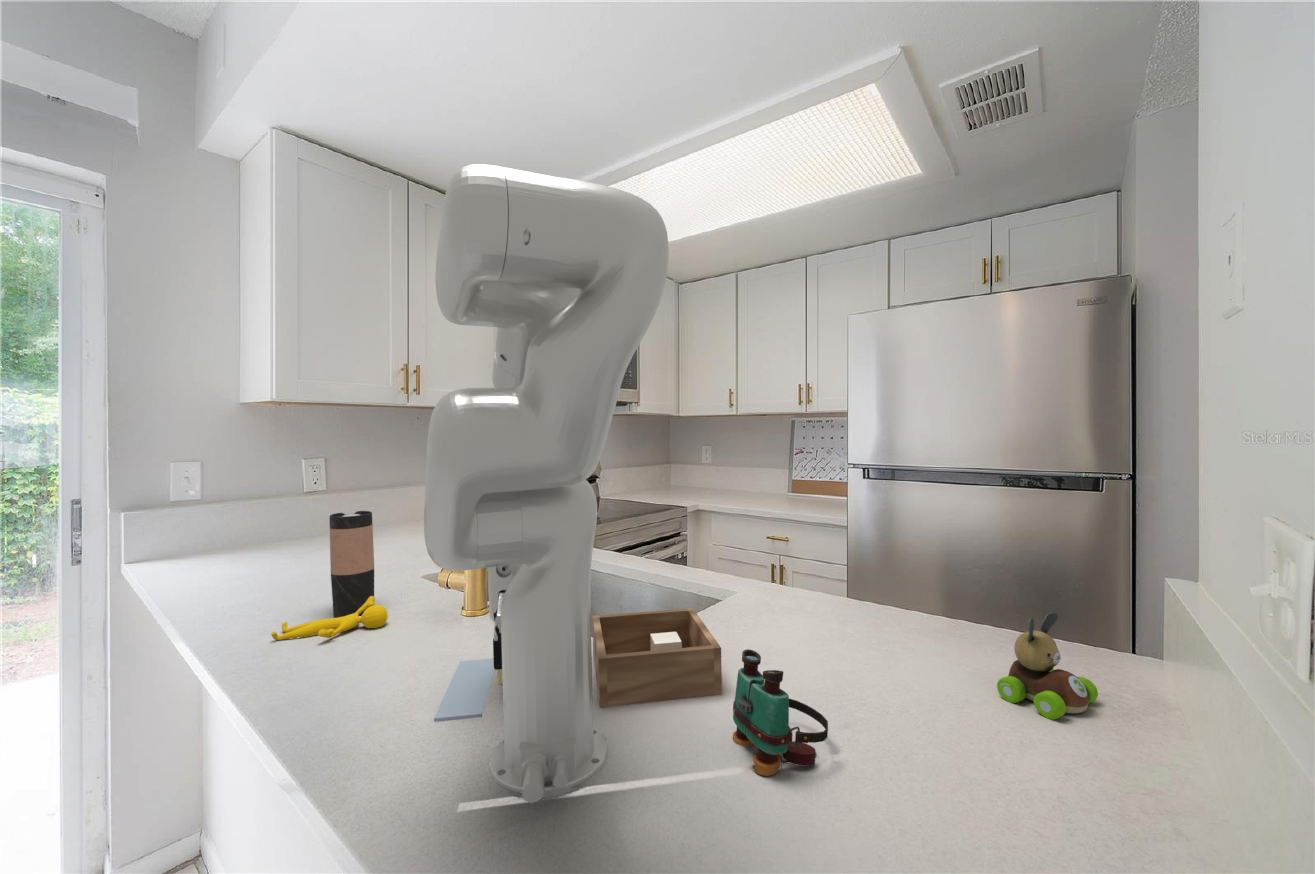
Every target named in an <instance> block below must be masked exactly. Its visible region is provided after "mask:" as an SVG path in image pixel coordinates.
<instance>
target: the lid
mask: <svg viewBox="0 0 1315 874" xmlns="http://www.w3.org/2000/svg"><path fill="white" fill-rule="evenodd" d="M495 673H496V670H495V669H494V659H493V657H492V658H481V659H470V660H459V662H458V665H457V667H456V670H455V672H454V674H453V676H452V679H451V681H450V683H449V684H448V687H447V689H446V692H445V693H444V696H443V697H442V700H441V703H440V704H439V705H438V706H439V707H438V709H437V711H436V713H435V716H434V718H433V722H435V723H436V721H437V722H445V720H446V721H453V720H454V721H455V720H464V719H473V718H482V717H483V715H484V711H485V707H486V703H487V700H488V698H489V693H490V690H491V686H492V682H493V679H494V676H495ZM497 685H503V679H502V669H500V670H497Z"/></svg>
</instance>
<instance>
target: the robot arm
mask: <svg viewBox="0 0 1315 874" xmlns="http://www.w3.org/2000/svg"><path fill="white" fill-rule="evenodd" d="M445 191H446V192H445V195H444V200H443V207H442V213H441V219H440V221H441V222H440V229H439V235H438V241H437V250H436V255H435V274H434V275H435V277H434V278H435V279H434V280H435V281H434V282H435V292H436V293H435V294H436V299H437V303H438V308H439V309H440V312H441V314H442V315H443V317H444V319H445V320H447V321H448V322H450V323H452V324H455V325H458V326H460V325H461V326H471V327H473V326H474V327H486V328H487V327H491V328H497V332H496V339H495V340H496V341H495V350H494V352H495V353H494V356H493V357H494V359H493V360H494V361H493V368H492V384H493V386H494V387H469V388H459V389H455V390H453V391H450V392H448V393H446V394H444V395H442V397H441V398H440V399H439V400H438V402H437V403H436V404H435V406H434V408H433V410H432V412H431V416H430V420H429V424H428V425H429V426H428V431H427V433H428V434H427V440H426V441H427V442H426V455H425V456H426V461H425V462H426V464H425V465H426V466H425V486H424V488H425V489H424V505H423V506H424V509H423V535H424V542H425V546H426V550H427V553H428V556H429V557H430V559H431V561H432V562H433V563H434V564H435V565H436V566H437V567H439V568H441V569H442V570H446V571H454V572H458V571H459V572H461V571H470V570H471V571H472V570H480V569H487V582H488V584H487V585H488V586H487V587H488V589H487V590H488V607H489V608H488V609H489V619H490V620H491V621H492V622H493V623H494V627H493V628H494V629H493V639H492V649H493V651H492V653H493V655H492V656H493V657H492V658H493V659H494V669H495V671H496V670H497V671H498V670H500V669H502V679H503V684H502V705H503V707H502V711H503V715H502V716H503V739H502V740H501V741H500V742H498V744H497V746H495V748H494V749H493V750H492V753H491V755H490V757H489V762H488V763H489V764H488V766H489V767H488V769H489V773H490V775H491V777H492V779H493V780H494V781H495V782H496V783H497V784H498V785H499V786H501V787H503V788H504V789H507V790H508V791H512V792H515V793H521V794H517V795H514V797H516V798H519V799H520V798H521V799H523V800H524V801H525V802H527V803H529V804H534V803H537V802H538V801H540V800H541V799H550V798H551V799H552V798H557V797H561V796H563V795H567V794H571V793H573V792H574V791H578V790H580V789H581V788H583V786H579V787H576V786H578V785H580V784H582V783H584V782H586V781H588V780H589V779H590V778H592V777H593V776H595V775H596V774H597V773H598V772H599V771H600V769H602V767H603V766H604V764H605V763H606V761H607V758H608V755H609V745H608V744H609V743H608V742H607V739H606V737H605V736H604V735H603V733H602V732H601V731H599V730H598V729H597V728H595V727H594V704H593V702H594V701H593V700H594V699H593V696H594V695H593V663H592V662H593V661H592V660H593V659H592V657H593V656H592V654H593V650H592V619H591V618H592V613H591V611H592V609H591V608H592V607H591V605H592V604H591V603H592V602H591V577H592V576H591V575H592V574H591V573H592V559H593V549H594V541H595V536H596V531H597V530H596V528H597V523H598V501H597V496H596V493H595V490H594V488H593V487H592V485H591V483H590V482H589V481H588V480H587V479H589V478H590V477H591V476H592V474H593V473H594V472H595V470H596V469H597V466H598V464H599V462H600V459H601V456H602V453H603V452H604V451H603V450H604V448H605V444H606V441H607V437H608V434H609V430H610V427H611V423H612V420H613V416H614V412H615V410H616V405H617V402H618V398H619V395H620V391H621V387H622V382H623V379H624V377H625V373H626V371H627V369H628V367H629V364H630V362H631V360H632V358H633V356H634V354H635V353H636V351H637V349H638V347H639V345H640V344H641V342H642V340H643V338H644V337H645V335H646V333H647V331H648V330H649V328H650V326H651V323H652V322H653V320H654V317H655V315H656V313H657V312H658V308H659V306H660V303H661V301H662V297H663V293H664V290H665V285H666V282H667V281H666V280H667V276H668V275H667V274H668V269H669V268H668V267H669V255H670V248H669V237H668V231H667V227H666V224H665V222H664V219H663V217H662V216H661V214H660V213H659V211H658V209H656V207H654V206H653V205H652V204H651V203H649V202H648V201H647V200H645V199H644V198H642V197H639V196H637V195H635V194H633V193H631V192H628V191H625V190H622V189H619V188H616V187H612V186H608V185H605V184H604V185H603V184H599V183H595V182H589V181H584V180H578V179H573V178H569V177H568V178H567V177H561V176H553V175H549V174H543V173H539V172H538V173H537V172H532V171H527V170H522V169H517V168H511V167H506V166H500V165H494V164H487V163H473V164H468V165H464V166H462V167H461V168H459V169H458V170H457V171H456V172H455V173H454V174H453V175H452V177H451V178H450V180H449V183H448V185H447V187H446V190H445Z"/></svg>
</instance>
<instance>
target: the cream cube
mask: <svg viewBox="0 0 1315 874" xmlns="http://www.w3.org/2000/svg"><path fill="white" fill-rule="evenodd" d="M650 644H651V651H654V650H665V649H676V648H682V641H681V640H680V638H679V636H678V634H677V632H666V633H654V634H650Z"/></svg>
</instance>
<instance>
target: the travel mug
mask: <svg viewBox="0 0 1315 874" xmlns="http://www.w3.org/2000/svg"><path fill="white" fill-rule="evenodd" d="M373 525H374V524H373V512H372V511H369V510H358V511H357V510H356V511H355V512H354V513H350V514H345V513H344V512H337V513H332V514H330V515H329V545H330V546H329V549H330V552H329V554H330V557H329V558H330V559H329V560H330V584H331V598H332V599H331V600H332V610H333V612H332V613H333V618H338V617H344V616H347V615H350V614H353V613H355V612H356V611H357V610H358V609H359V608H360V607H362V606H363V605H364V603H365V602H366V601H367V599H368V598H369V597H370V596H373V597H374V598H375V553H374V551H375V550H374V528H373ZM373 603H374V604H375V601H374V602H373ZM368 608H369V607H368ZM366 609H367V608H366ZM366 609H365V610H366ZM365 610H364V611H365ZM364 611H362V612H361V613H360V614H359V615H358V616H362V614H363V613H364Z"/></svg>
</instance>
